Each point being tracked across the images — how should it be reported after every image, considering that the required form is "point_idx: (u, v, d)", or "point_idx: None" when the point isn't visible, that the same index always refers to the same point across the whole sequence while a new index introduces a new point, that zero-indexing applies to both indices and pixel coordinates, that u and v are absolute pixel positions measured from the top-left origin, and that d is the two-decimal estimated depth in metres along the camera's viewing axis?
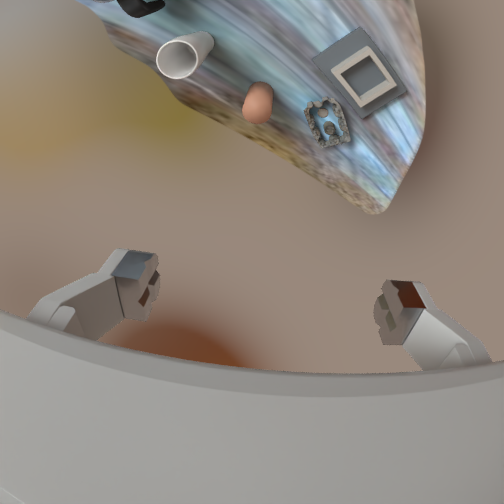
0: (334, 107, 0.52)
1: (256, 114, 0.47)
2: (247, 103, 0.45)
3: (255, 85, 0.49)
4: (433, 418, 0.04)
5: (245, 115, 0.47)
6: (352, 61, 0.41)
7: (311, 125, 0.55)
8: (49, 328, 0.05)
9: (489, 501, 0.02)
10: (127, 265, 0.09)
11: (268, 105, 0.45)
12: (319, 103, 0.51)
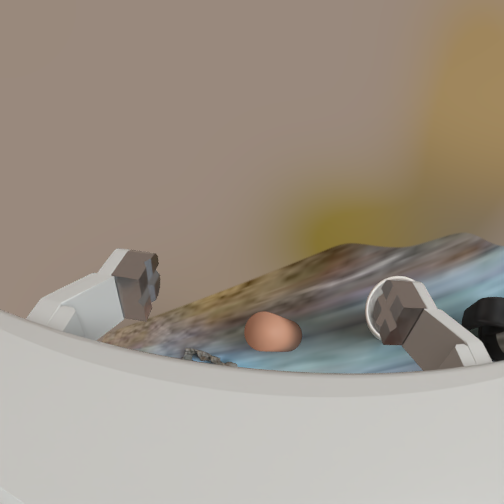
0: None
1: (260, 327, 0.36)
2: (279, 329, 0.35)
3: (297, 340, 0.41)
4: (433, 418, 0.04)
5: (267, 314, 0.36)
6: None
7: (214, 359, 0.45)
8: (49, 328, 0.05)
9: (489, 501, 0.02)
10: (127, 265, 0.09)
11: (259, 349, 0.35)
12: None
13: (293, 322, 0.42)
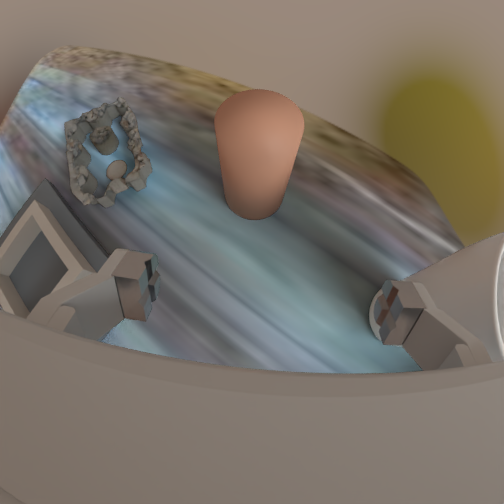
0: (88, 185, 0.23)
1: (260, 111, 0.15)
2: (291, 140, 0.15)
3: (268, 207, 0.22)
4: (433, 418, 0.04)
5: (292, 108, 0.15)
6: None
7: (134, 135, 0.23)
8: (49, 328, 0.05)
9: (489, 501, 0.02)
10: (127, 265, 0.09)
11: (224, 138, 0.15)
12: (114, 187, 0.23)
13: None
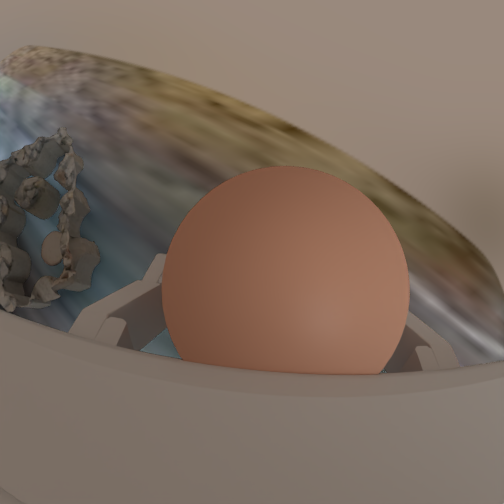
0: (15, 273, 0.14)
1: (298, 253, 0.06)
2: (375, 355, 0.05)
3: None
4: (433, 418, 0.04)
5: (384, 238, 0.06)
6: None
7: (68, 204, 0.13)
8: (49, 328, 0.05)
9: (489, 501, 0.02)
10: None
11: (191, 353, 0.05)
12: (42, 292, 0.13)
13: None
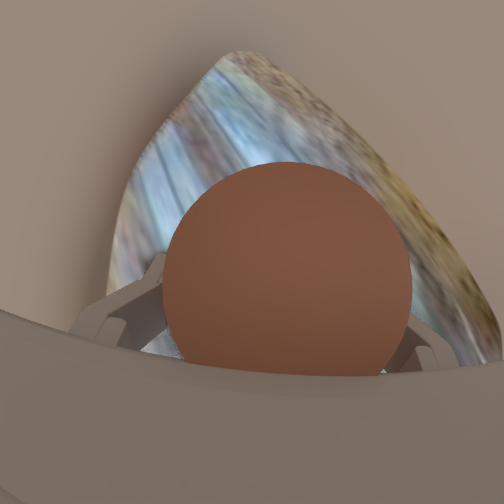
0: None
1: (301, 249, 0.06)
2: (378, 353, 0.05)
3: None
4: (433, 418, 0.04)
5: (386, 235, 0.06)
6: None
7: None
8: (49, 328, 0.05)
9: (489, 501, 0.02)
10: None
11: (192, 351, 0.05)
12: None
13: None
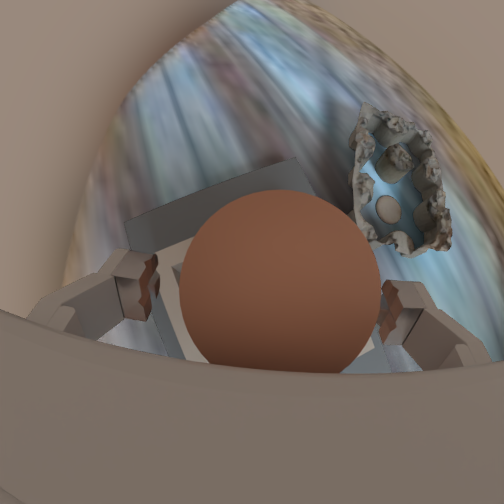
0: (362, 206, 0.18)
1: (288, 262, 0.07)
2: (351, 344, 0.07)
3: None
4: (433, 418, 0.04)
5: (359, 249, 0.07)
6: None
7: (440, 198, 0.17)
8: (49, 328, 0.05)
9: (489, 501, 0.02)
10: (127, 265, 0.09)
11: (203, 341, 0.07)
12: (397, 242, 0.17)
13: None
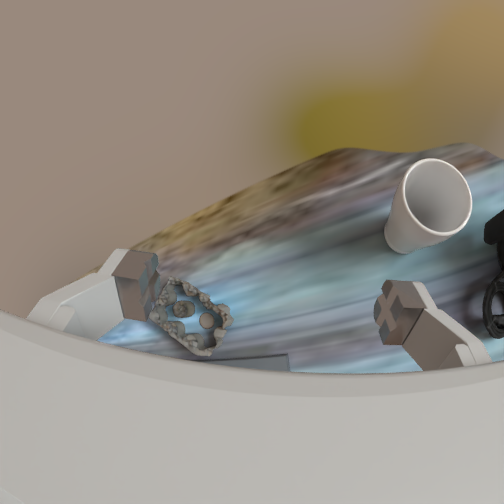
0: (199, 342, 0.38)
1: None
2: None
3: None
4: (433, 418, 0.04)
5: None
6: None
7: (204, 298, 0.37)
8: (49, 328, 0.05)
9: (489, 501, 0.02)
10: (127, 265, 0.09)
11: None
12: (218, 335, 0.37)
13: None
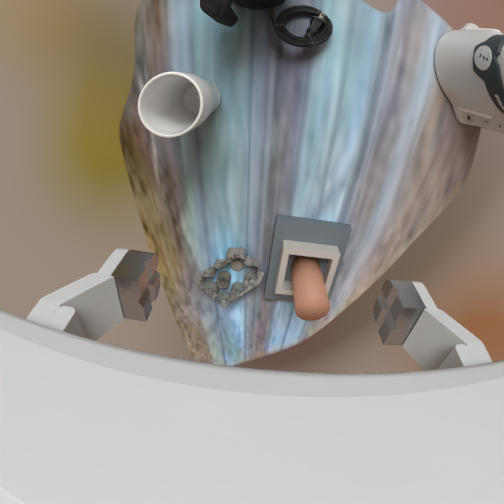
0: (251, 276, 0.51)
1: (309, 311, 0.41)
2: (307, 298, 0.39)
3: (308, 262, 0.46)
4: (433, 418, 0.04)
5: (297, 309, 0.41)
6: (312, 253, 0.45)
7: (218, 265, 0.48)
8: (49, 328, 0.05)
9: (489, 501, 0.02)
10: (127, 265, 0.09)
11: (328, 306, 0.40)
12: (249, 262, 0.49)
13: (292, 268, 0.47)
